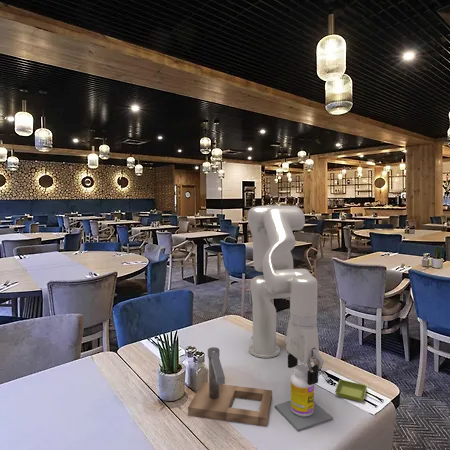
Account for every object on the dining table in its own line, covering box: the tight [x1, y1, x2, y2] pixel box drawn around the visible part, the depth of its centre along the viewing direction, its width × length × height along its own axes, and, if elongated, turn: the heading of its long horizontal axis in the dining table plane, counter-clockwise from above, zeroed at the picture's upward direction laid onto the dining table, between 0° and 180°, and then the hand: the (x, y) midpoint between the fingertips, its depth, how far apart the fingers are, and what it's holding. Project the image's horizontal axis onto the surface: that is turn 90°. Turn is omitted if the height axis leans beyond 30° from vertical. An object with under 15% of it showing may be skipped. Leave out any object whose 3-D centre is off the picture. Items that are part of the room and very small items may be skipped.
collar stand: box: [187, 358, 273, 427], centre depth 104 cm, size 23×14×15 cm, turn 76°
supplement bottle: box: [290, 364, 315, 417], centre depth 100 cm, size 7×7×13 cm
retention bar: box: [207, 346, 226, 385], centre depth 97 cm, size 18×4×2 cm, turn 9°
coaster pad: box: [274, 400, 334, 432], centre depth 101 cm, size 12×12×1 cm
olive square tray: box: [334, 379, 368, 403], centre depth 110 cm, size 9×9×2 cm
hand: (302, 374), depth 100 cm, fingers open, 9 cm apart
